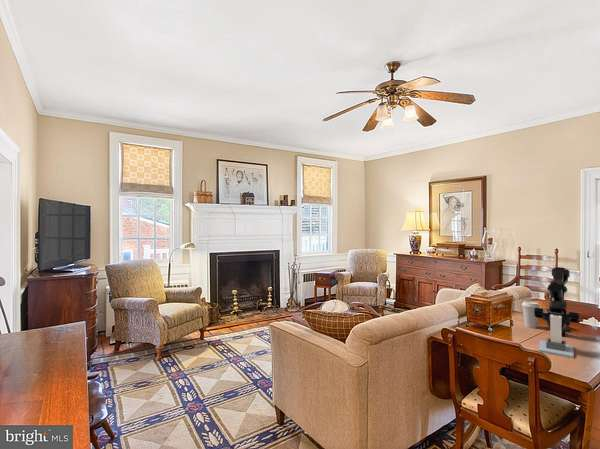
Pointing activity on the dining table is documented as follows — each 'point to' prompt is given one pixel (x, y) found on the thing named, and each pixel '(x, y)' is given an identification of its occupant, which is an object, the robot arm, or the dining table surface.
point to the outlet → (556, 348)
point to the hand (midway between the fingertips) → (555, 329)
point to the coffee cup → (530, 313)
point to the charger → (555, 328)
